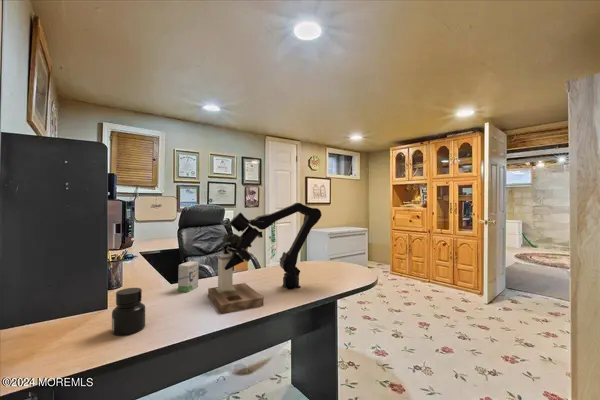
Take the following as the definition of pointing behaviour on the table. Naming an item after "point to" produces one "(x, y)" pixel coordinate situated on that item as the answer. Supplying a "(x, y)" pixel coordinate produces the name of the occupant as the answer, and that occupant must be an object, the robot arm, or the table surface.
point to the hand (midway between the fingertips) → (222, 267)
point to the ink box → (187, 276)
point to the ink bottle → (128, 312)
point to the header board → (235, 298)
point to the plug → (224, 273)
